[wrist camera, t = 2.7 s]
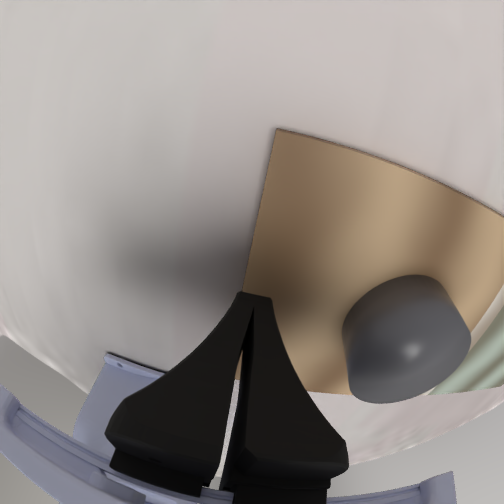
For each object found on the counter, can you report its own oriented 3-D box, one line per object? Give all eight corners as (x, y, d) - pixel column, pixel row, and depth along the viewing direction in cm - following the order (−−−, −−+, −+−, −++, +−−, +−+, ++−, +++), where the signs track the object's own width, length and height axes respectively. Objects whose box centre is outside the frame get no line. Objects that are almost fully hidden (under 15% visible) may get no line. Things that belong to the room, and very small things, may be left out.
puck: (324, 353, 13) (327, 401, 11) (372, 262, 10) (393, 311, 8) (411, 362, 13) (422, 402, 11) (466, 285, 10) (492, 325, 8)
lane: (226, 364, 16) (223, 376, 16) (276, 128, 9) (276, 130, 8) (498, 379, 16) (501, 386, 15) (575, 269, 9) (580, 276, 8)
